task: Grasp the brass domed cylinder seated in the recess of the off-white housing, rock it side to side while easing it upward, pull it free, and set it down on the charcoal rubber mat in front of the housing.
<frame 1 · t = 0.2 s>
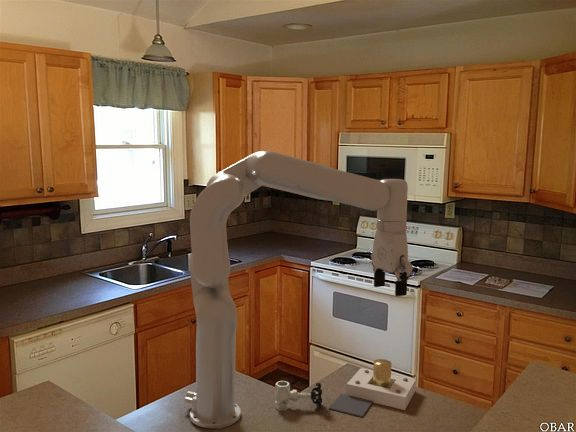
hand: (389, 290, 136), 30 cm above the countertop, tool pointing down, fingers open, 9 cm apart
valve: (297, 408, 134), on the countertop
brass domed cylinder: (381, 378, 142), in the housing
housing: (381, 393, 143), on the countertop
mat: (351, 405, 135), on the countertop
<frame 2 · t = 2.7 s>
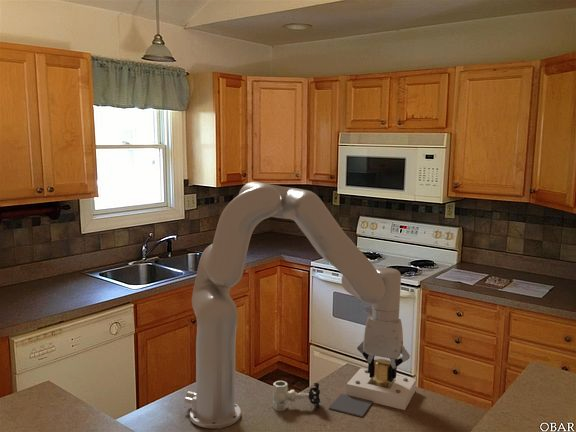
hand: (381, 377, 142), 5 cm above the countertop, tool pointing down, fingers closed on brass domed cylinder, 4 cm apart
brass domed cylinder: (381, 378, 142), in the housing, touching gripper
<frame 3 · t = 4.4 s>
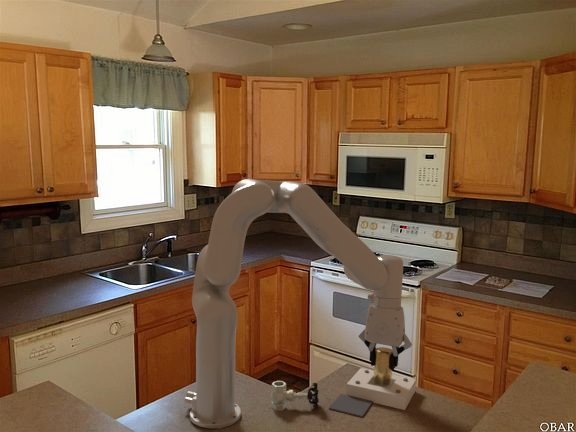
hand: (383, 365, 141), 8 cm above the countertop, tool pointing down, fingers closed on brass domed cylinder, 4 cm apart
brass domed cylinder: (383, 366, 141), point 8 cm above the countertop, touching gripper
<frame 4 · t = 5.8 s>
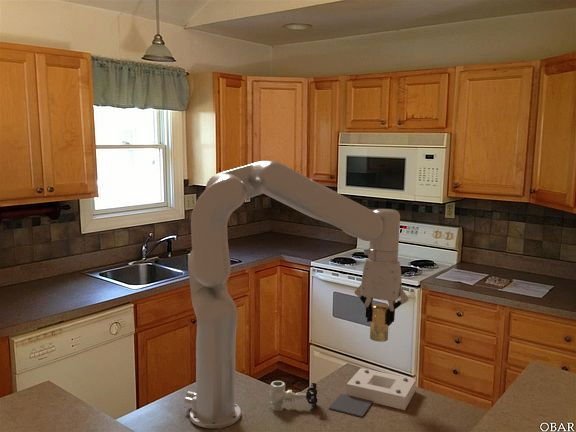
hand: (379, 321, 139), 21 cm above the countertop, tool pointing down, fingers closed on brass domed cylinder, 4 cm apart
brass domed cylinder: (379, 322, 139), point 21 cm above the countertop, touching gripper
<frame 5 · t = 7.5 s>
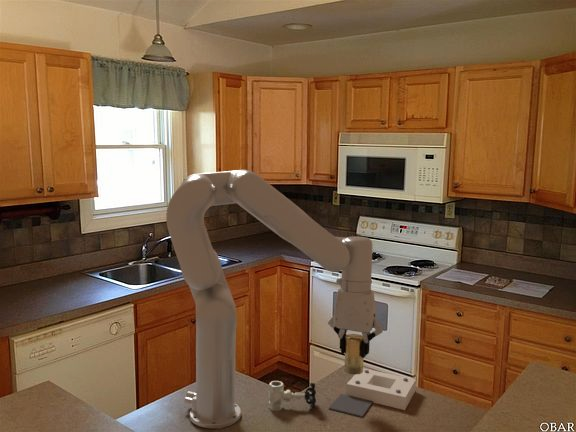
hand: (354, 353, 134), 14 cm above the countertop, tool pointing down, fingers closed on brass domed cylinder, 4 cm apart
brass domed cylinder: (354, 353, 134), point 14 cm above the countertop, touching gripper
when the fingers open (6 cm above the countertop, at t = 9.0 s): brass domed cylinder drops 1 cm, resting on mat.
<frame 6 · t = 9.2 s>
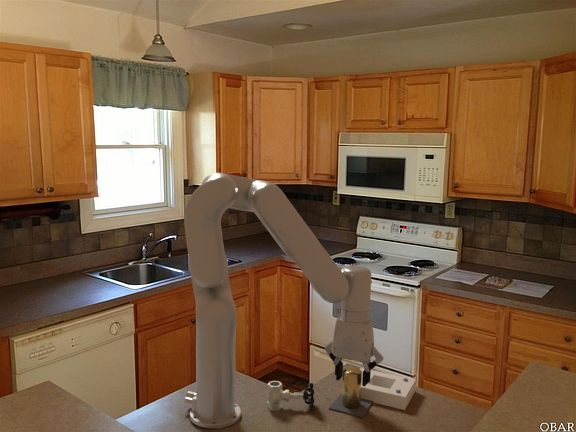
hand: (352, 380, 135), 7 cm above the countertop, tool pointing down, fingers open, 6 cm apart
brass domed cylinder: (351, 387, 135), on the mat
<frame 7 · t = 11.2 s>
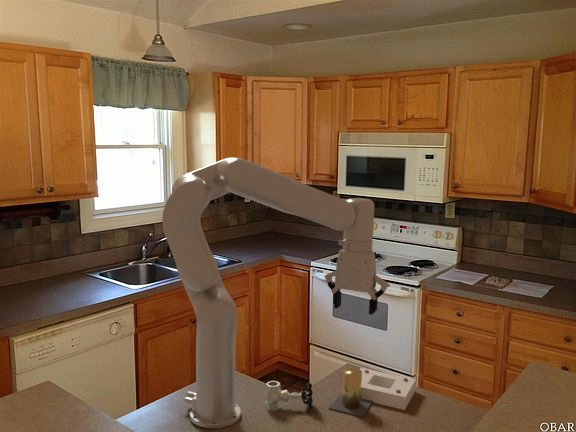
hand: (354, 310, 136), 25 cm above the countertop, tool pointing down, fingers open, 9 cm apart
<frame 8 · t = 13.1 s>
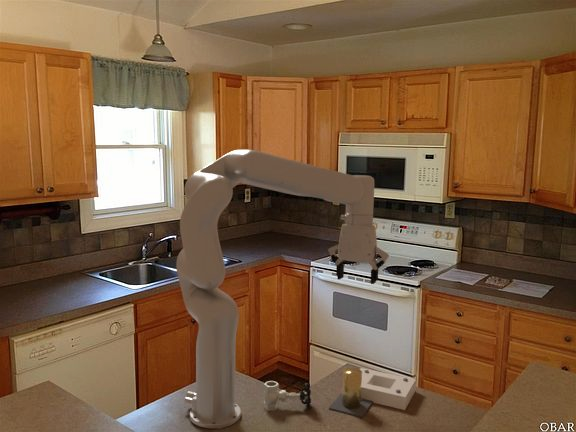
hand: (356, 280, 145), 30 cm above the countertop, tool pointing down, fingers open, 9 cm apart
at the end: brass domed cylinder inside the target area on the mat (0.1 cm from its centre), point 4.9 cm above the mat's base; brass domed cylinder tilted 0°; the gripper is holding nothing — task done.
